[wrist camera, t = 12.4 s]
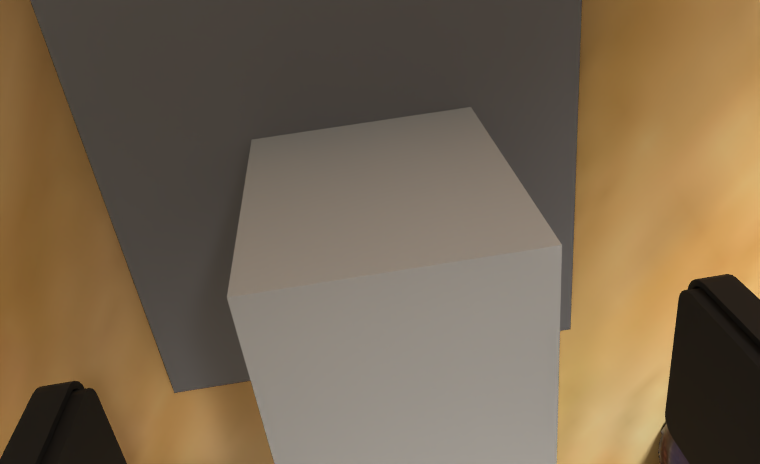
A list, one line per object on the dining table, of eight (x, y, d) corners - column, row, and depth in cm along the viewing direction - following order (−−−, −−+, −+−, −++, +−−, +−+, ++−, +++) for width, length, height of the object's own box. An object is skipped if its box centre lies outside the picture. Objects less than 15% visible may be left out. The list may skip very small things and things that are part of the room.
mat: (592, -503, 10) (600, -512, 9) (566, 321, 17) (570, 329, 17) (-116, -419, 9) (-128, -426, 9) (176, 384, 17) (174, 393, 17)
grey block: (470, 106, 14) (561, 244, 9) (479, 286, 16) (556, 472, 11) (251, 139, 14) (227, 297, 9) (292, 316, 16) (289, 517, 11)
